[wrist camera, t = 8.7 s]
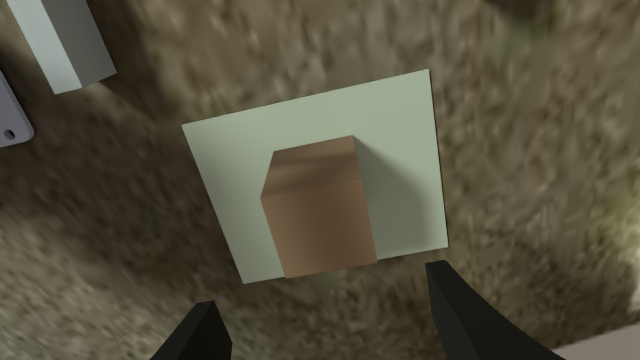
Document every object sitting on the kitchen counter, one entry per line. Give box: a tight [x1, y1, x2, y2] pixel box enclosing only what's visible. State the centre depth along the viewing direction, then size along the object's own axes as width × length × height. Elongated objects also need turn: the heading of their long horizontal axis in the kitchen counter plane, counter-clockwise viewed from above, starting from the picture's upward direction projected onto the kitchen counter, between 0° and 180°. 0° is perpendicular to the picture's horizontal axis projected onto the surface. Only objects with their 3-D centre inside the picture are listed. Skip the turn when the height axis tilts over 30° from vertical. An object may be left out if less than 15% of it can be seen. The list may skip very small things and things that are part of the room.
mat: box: [181, 69, 448, 284], centre depth 21 cm, size 12×10×1 cm
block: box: [260, 135, 378, 279], centre depth 19 cm, size 4×4×5 cm
